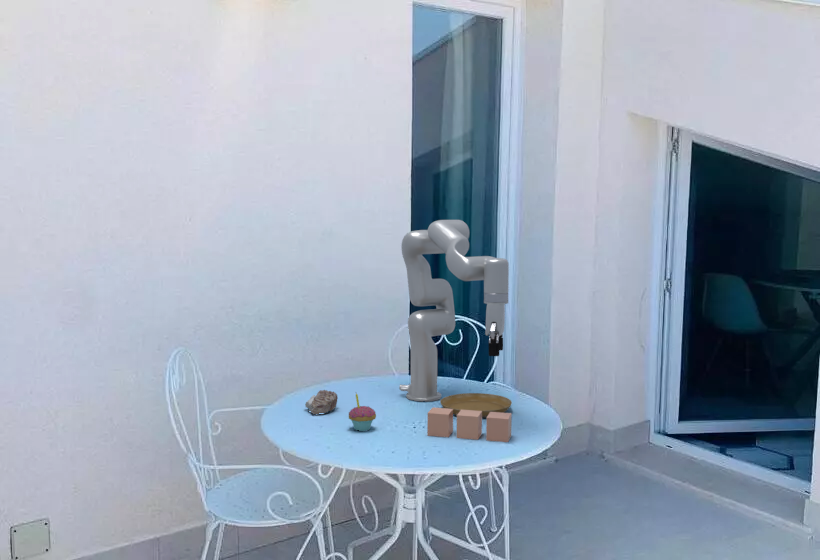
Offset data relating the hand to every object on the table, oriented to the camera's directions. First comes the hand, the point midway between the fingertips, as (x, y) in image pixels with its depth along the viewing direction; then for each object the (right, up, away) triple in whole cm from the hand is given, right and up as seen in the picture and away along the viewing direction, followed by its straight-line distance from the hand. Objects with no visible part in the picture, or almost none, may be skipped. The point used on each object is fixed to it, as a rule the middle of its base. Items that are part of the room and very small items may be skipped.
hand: (495, 353), depth 245 cm
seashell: (-57, -22, +22) cm, 64 cm away
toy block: (-9, -24, -6) cm, 27 cm away
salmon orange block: (0, -25, -9) cm, 26 cm away
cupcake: (-42, -24, +1) cm, 48 cm away
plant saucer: (-4, -22, +22) cm, 32 cm away
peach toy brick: (-17, -24, -4) cm, 30 cm away
